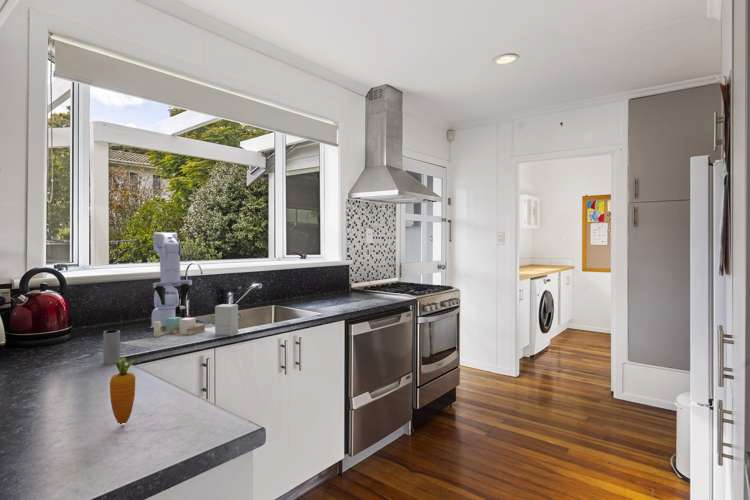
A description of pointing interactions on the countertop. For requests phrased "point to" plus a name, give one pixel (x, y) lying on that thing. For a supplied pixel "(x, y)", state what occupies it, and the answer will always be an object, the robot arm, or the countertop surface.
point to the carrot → (122, 391)
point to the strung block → (166, 326)
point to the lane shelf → (190, 331)
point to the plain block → (186, 324)
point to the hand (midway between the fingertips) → (173, 303)
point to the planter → (111, 346)
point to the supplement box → (226, 319)
